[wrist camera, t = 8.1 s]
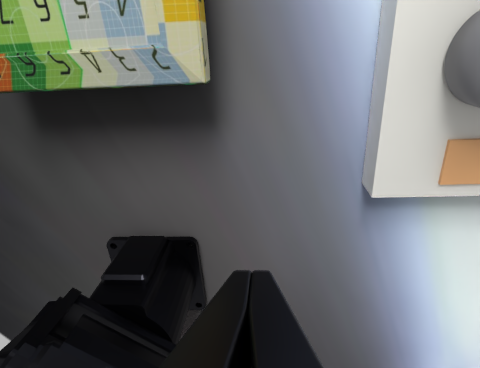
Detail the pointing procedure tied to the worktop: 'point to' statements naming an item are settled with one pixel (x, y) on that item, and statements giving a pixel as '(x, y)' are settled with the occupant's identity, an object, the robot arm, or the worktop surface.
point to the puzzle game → (101, 44)
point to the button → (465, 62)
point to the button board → (420, 106)
